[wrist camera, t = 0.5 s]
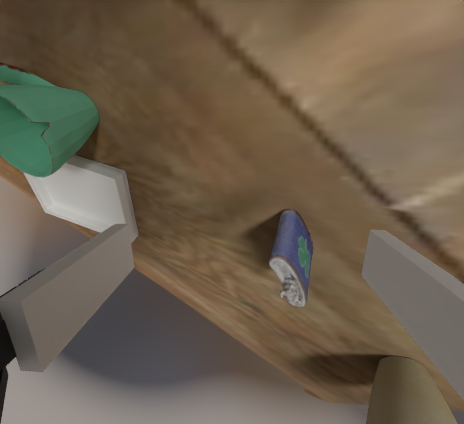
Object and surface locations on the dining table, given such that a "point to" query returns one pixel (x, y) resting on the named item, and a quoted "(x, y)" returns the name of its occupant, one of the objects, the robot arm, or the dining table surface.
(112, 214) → the cradle tray
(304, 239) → the flask
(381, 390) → the plant pot
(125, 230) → the robot arm
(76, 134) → the mug
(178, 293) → the dining table surface
